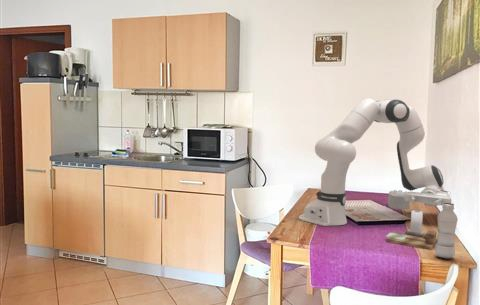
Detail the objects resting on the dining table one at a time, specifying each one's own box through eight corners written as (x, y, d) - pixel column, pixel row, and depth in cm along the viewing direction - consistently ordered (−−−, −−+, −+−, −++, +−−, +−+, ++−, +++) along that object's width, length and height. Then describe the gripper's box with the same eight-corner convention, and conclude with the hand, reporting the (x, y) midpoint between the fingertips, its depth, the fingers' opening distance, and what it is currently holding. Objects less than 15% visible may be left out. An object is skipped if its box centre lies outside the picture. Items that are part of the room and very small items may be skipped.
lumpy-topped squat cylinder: (390, 208, 233) (391, 192, 232) (385, 203, 246) (386, 188, 245) (410, 209, 231) (411, 193, 231) (404, 204, 244) (405, 189, 243)
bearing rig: (383, 241, 176) (384, 228, 176) (391, 234, 186) (392, 222, 185) (431, 250, 166) (432, 236, 166) (437, 242, 176) (438, 229, 176)
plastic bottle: (435, 253, 163) (439, 200, 160) (455, 256, 159) (459, 203, 157) (433, 258, 157) (436, 204, 155) (453, 262, 154) (458, 206, 152)
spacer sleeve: (409, 234, 186) (410, 211, 185) (411, 232, 189) (412, 209, 188) (420, 236, 183) (421, 213, 182) (422, 234, 187) (423, 211, 186)
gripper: (407, 187, 212) (400, 192, 200) (454, 192, 201) (449, 197, 189) (407, 200, 213) (400, 205, 201) (453, 205, 201) (448, 211, 190)
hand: (424, 201), depth 195 cm, fingers open, 8 cm apart
